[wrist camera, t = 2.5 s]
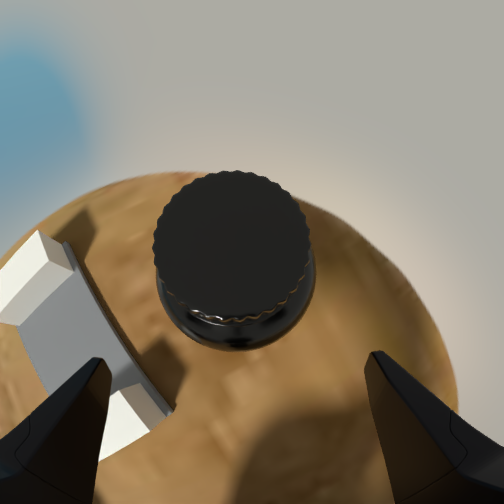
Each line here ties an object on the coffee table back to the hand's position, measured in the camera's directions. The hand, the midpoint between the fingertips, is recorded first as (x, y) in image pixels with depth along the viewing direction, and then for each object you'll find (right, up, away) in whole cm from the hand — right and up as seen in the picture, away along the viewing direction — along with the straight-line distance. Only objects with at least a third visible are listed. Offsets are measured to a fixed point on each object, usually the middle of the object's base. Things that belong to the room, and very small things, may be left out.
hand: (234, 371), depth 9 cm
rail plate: (-13, -4, +10) cm, 17 cm away
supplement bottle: (0, +1, +11) cm, 11 cm away
